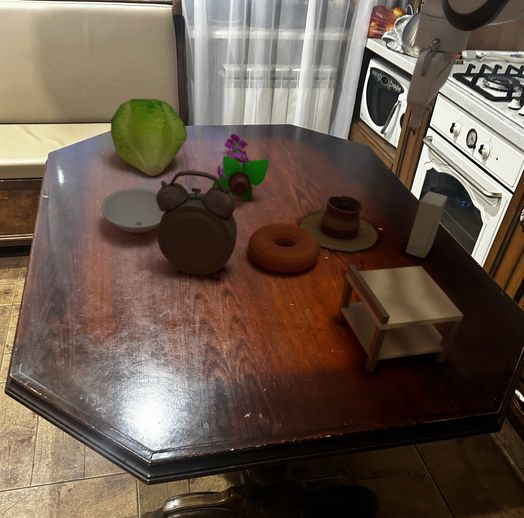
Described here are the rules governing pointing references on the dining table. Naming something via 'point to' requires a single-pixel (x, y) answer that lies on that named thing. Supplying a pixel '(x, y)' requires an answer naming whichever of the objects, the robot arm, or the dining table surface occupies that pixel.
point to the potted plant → (232, 172)
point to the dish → (133, 209)
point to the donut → (283, 248)
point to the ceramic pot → (341, 226)
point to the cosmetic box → (426, 224)
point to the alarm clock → (196, 225)
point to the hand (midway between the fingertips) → (419, 119)
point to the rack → (398, 313)
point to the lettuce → (147, 134)
